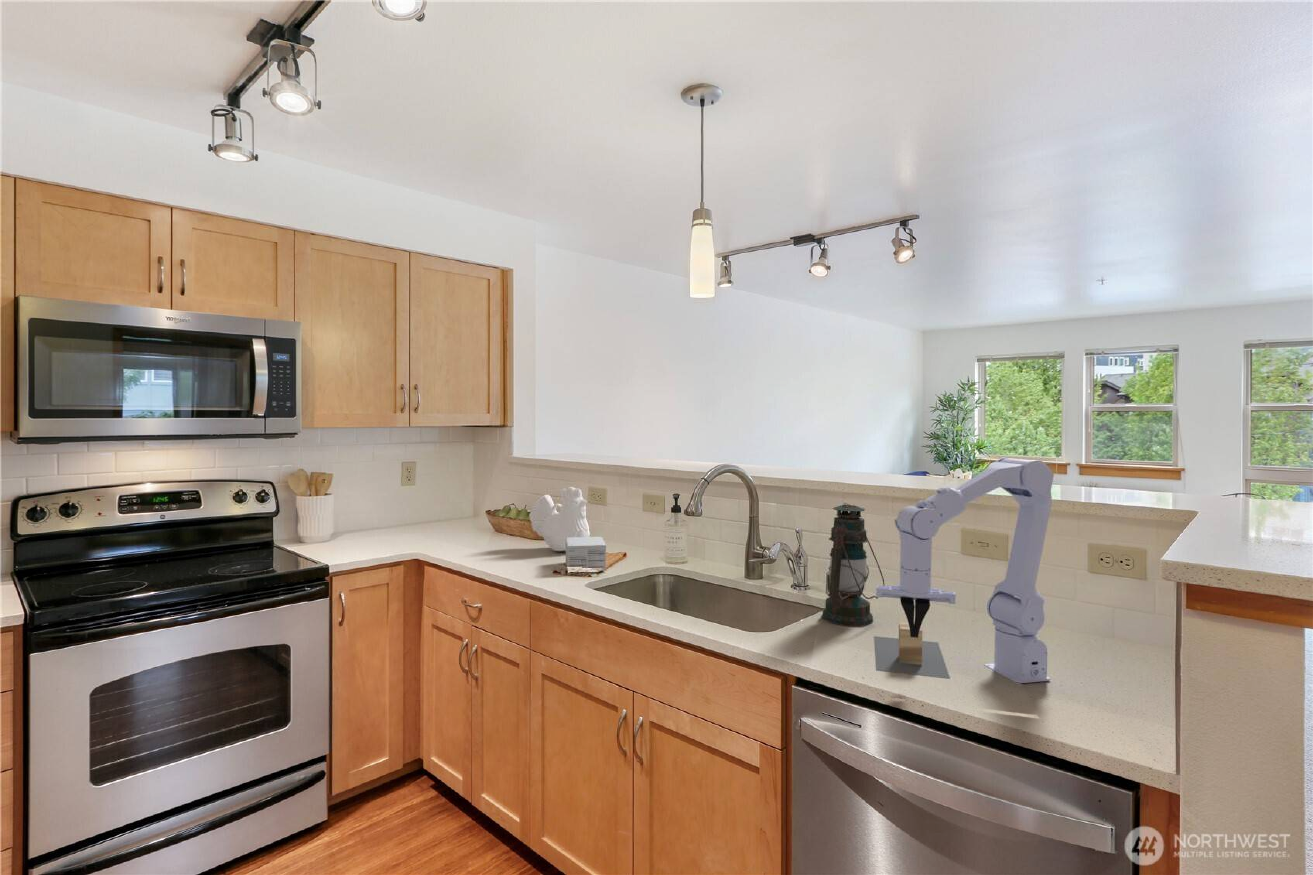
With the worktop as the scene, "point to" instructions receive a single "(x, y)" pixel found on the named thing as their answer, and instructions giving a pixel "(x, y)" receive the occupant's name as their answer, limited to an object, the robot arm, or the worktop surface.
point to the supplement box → (586, 552)
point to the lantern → (848, 570)
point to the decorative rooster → (560, 518)
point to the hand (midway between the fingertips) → (914, 635)
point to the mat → (890, 663)
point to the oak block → (909, 646)
